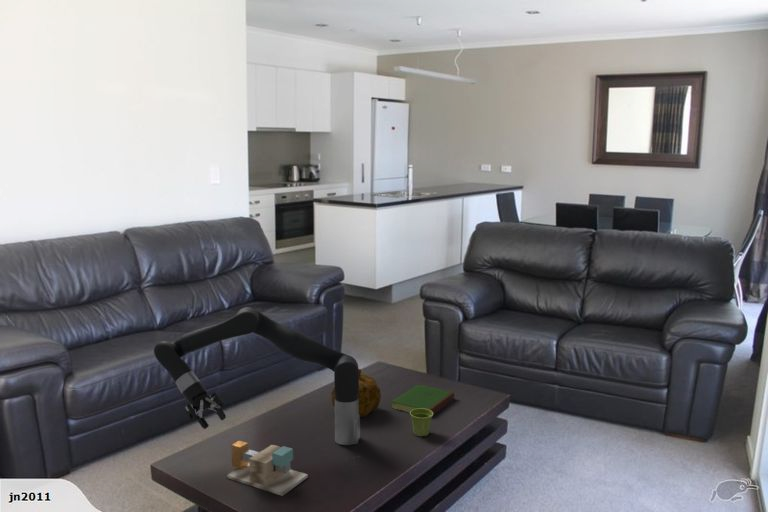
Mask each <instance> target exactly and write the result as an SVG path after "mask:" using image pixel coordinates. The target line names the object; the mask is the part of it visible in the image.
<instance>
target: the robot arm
mask: <svg viewBox="0 0 768 512" xmlns="http://www.w3.org/2000/svg"><path fill="white" fill-rule="evenodd" d="M249 334H250V335H251V334H256V335H259V336H260V337H263V338H264V339H266V340H268V341H269V342H271V343H272V344H273V345H274V346H275V347H277V349H279V350H281V351H282V352H283V353H286V355H289V356H291V357H293V358H296V359H298V360H300V361H304V362H309V363H314V364H319V365H321V366H324V367H326V368H327V369H328V370H331V371H332V372H334V375H333V377H334V379H333V381H334V384H333V386H335V408H334V441H335V443H336V444H338V445H342V446H351V445H358V443H359V440H360V437H361V424H360V423H361V417H360V415H359V369H360V368H359V363H358V360H356V358H354V357H353V356H352V355H349V354H347V353H344V352H340V351H338V350H335V349H333V348H330V347H328V346H327V345H324V344H322V343H321V342H320V341H318V340H316V339H314V338H312V337H310V336H308V335H307V334H304V333H302V332H300V331H298V330H297V329H296V330H295V329H293V328H291V327H290V326H287V325H284V324H281V323H279V322H277V321H275V320H273V319H271V318H270V317H268V316H267V315H264V314H263V313H261V312H260V311H258V310H257V309H255V308H253V307H249V306H246V307H242V308H241V309H239V310H238V311H237V312H236V314H235V315H234V316H232V317H231V318H229V319H226V320H224V321H222V322H220V323H217V324H215V325H210V326H207V327H206V326H205V327H202V328H198V329H196V330H192V331H190V332H188V333H185V334H183V335H181V336H180V337H179V339H176V340H175V341H171V342H170V341H166V340H162V341H159V342H158V343H156V344H155V346H154V349H153V354H154V357H155V358H156V360H157V361H158V362H159V363H160V365H161V366H162V367H163V368H164V369H165V370H166V371H167V373H168V374H169V376H170V377H171V378H172V380H173V381H174V383H175V384H176V387H177V388H178V390H179V391H180V393H181V394H182V396H183V398H184V399H185V400H186V402H187V405H185V407H184V411H185V413H186V415H188V418H189V419H190V420H191V422H195V421H196V422H198V423H199V425H200V426H201V428H202V429H204V430H207V429H208V427H209V425H210V424H209V423H208V421H207V420H206V419H205V417H204V416H203V412H205V411H208V410H210V411H214V412H215V413H216V415H217V416H218V418H219V419H220V421H224V420H225V419H226V418H227V417H226V413H225V412H224V410H223V409H222V407H224V402H223V400H222V399H220V396H219V395H218V394H217V393H216V392H213V393H211V394H210V395H209V394H208V392H207V390H206V388H205V386H204V385H203V384H202V382H201V380H199V378H198V376H197V374H195V373H194V372H193V370H192V369H191V367H190V366H189V364H188V363H187V362H186V361H185V360H183V359H182V358H183V357H184V356H186V355H188V354H191V353H193V352H195V351H198V350H200V349H203V348H206V347H209V346H210V345H213V344H216V343H218V342H221V341H224V340H227V339H231V338H235V337H240V336H244V335H245V336H246V335H249Z"/></svg>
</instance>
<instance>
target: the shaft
mask: <svg viewBox="0 0 768 512" xmlns="http://www.w3.org/2000/svg"><path fill="white" fill-rule="evenodd" d="M259 452H260V451H256V450H253V449H249V443H248V442H245V441H241V440H238V441H235V442H234V443H233V444H231V466H232V467H234V468H236V469H237V468H240V469H242V468H243V467H245V466H247V465H248V464H249V458H251V457H253V456H254V455H256V454H258V453H259ZM291 462H292V461H290V462H289V463H288V464H286V465H285V466H283V467H280V466H276V465H273V466H274V470H275V471H278V472H282V473H287V472H288V471H290V470H292V467H291Z"/></svg>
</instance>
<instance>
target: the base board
mask: <svg viewBox="0 0 768 512" xmlns="http://www.w3.org/2000/svg"><path fill="white" fill-rule="evenodd" d="M226 478H227V479H230V480H232V481H236V482H239V483H242V484H243V485H247V486H251V487H254V488H256V489H259V490H262V491H265V492H269V493H272V494H275V495H278V496H281V497H283V496H284V495H286V494H288V493H289V492H290V491H291V490H292V489H294V488H295V487H297V486H298V485H299V484H300V483H302V482H303V481H305V480H306V479H307V478H309V475H308V474H307V473H305V472H301V471H298V470H294V469H291V470H290V471H288V472H287V473H284V474H283V475H281V476H280V477H278V478H277V479H276V480H274V481H273V482H271V483H270V484H268V485H267V486H265V485H262V484H259V483H256V482H252V481H250V465H249V464H248V465H247V466H245V467H243V468H242V469H240V468H236V469H234V470H232V471H231V472H229V473H228V474H226Z"/></svg>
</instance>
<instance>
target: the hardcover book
mask: <svg viewBox="0 0 768 512" xmlns="http://www.w3.org/2000/svg"><path fill="white" fill-rule="evenodd" d="M453 400H455V392H453V391H448V390H444V389H441V388H435V387H431V386H426V385H421V384H417V385H415V386H413V387H412V388H410V389H409V390H407V391H405V392H404V393H403V394H401V395H399V396H397V397H396V398H395V399H393V400H391V404H392V406H391V407H392V409H393V408H394V410H397V409H398V411H401V410H402V412H406V413H409V414H410V411H411V410H413V409H417V408H425V409H429V410H431V411H432V412H433V416H434V415H435V414H436V413H438V412H439V411H440V410H441V409H443V408H445V407H446V406H447V405H449V403H451V402H453Z"/></svg>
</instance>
